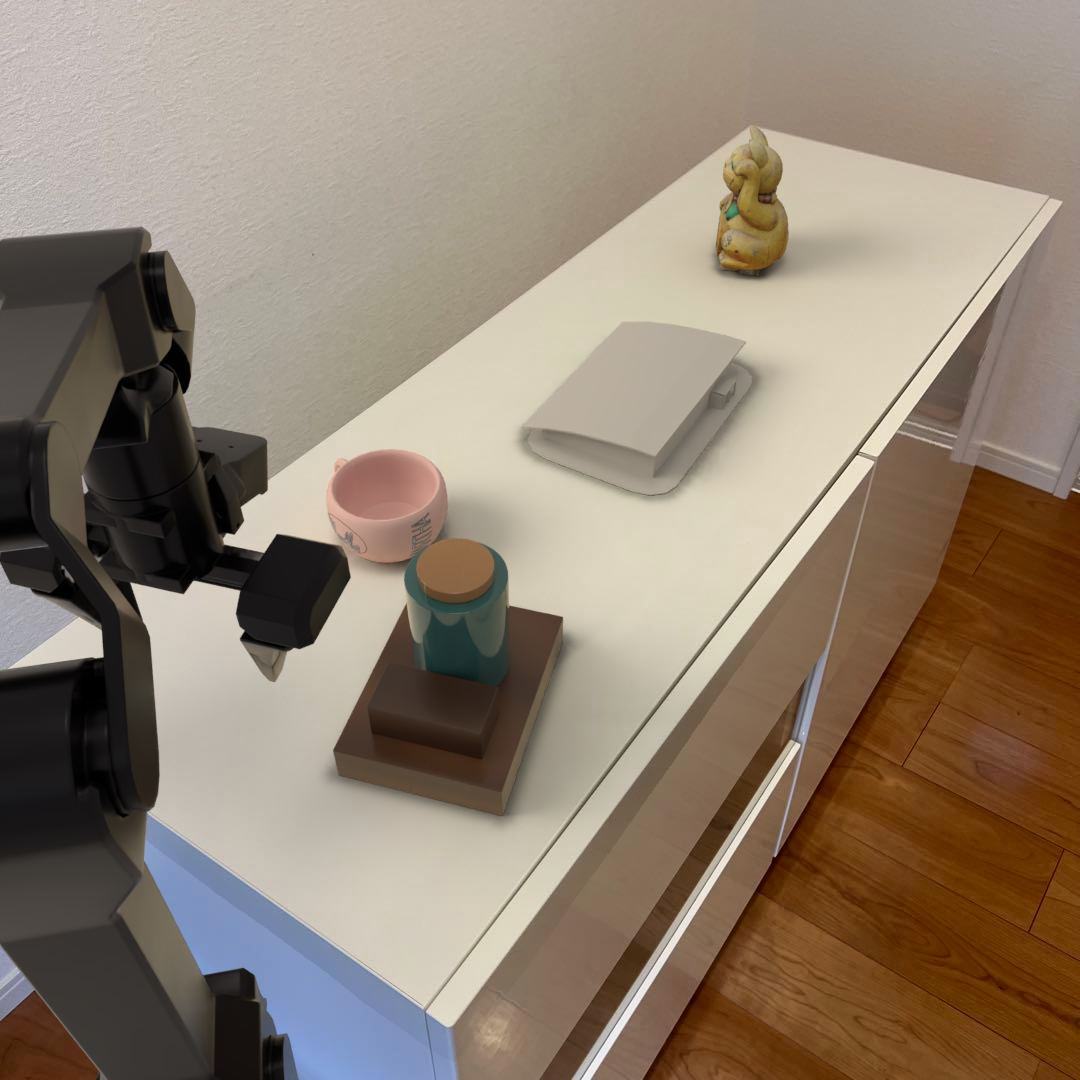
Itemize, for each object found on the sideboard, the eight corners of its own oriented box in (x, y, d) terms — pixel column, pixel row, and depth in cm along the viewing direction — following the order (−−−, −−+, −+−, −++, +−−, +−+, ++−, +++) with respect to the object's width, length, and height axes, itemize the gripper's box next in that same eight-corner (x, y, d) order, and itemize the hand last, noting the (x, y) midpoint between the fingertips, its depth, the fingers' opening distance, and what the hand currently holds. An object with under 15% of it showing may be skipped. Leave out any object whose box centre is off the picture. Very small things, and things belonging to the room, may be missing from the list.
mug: (474, 535, 92) (471, 483, 88) (385, 596, 87) (377, 543, 83) (384, 471, 98) (377, 420, 94) (295, 525, 93) (284, 473, 89)
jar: (471, 720, 69) (505, 547, 69) (369, 696, 71) (402, 527, 70) (509, 700, 80) (538, 551, 80) (420, 680, 82) (449, 533, 82)
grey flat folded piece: (761, 372, 110) (766, 339, 107) (663, 503, 95) (667, 469, 93) (626, 329, 115) (628, 297, 112) (515, 447, 101) (514, 414, 98)
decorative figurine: (711, 238, 129) (727, 114, 119) (780, 242, 129) (802, 118, 118) (712, 280, 122) (729, 153, 112) (786, 284, 122) (810, 156, 111)
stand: (502, 816, 73) (500, 765, 69) (337, 775, 75) (326, 723, 71) (562, 642, 84) (564, 589, 80) (417, 610, 86) (411, 557, 82)
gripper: (372, 402, 59) (397, 597, 70) (70, 348, 62) (139, 542, 73) (283, 539, 51) (328, 734, 62) (-55, 469, 54) (43, 665, 65)
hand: (206, 659), depth 66 cm, fingers open, 9 cm apart
